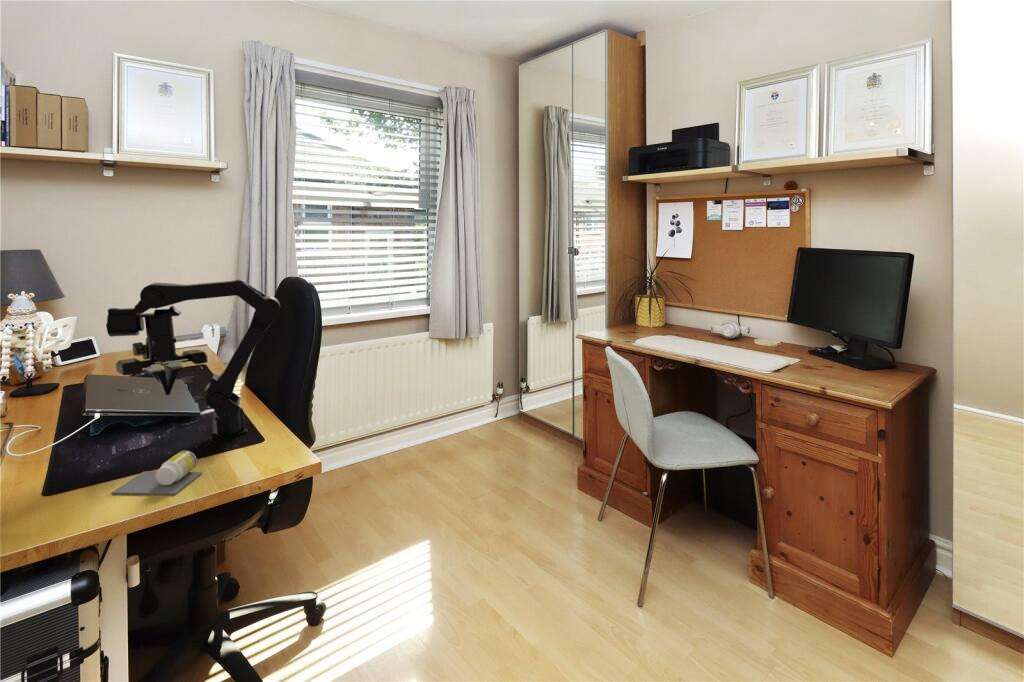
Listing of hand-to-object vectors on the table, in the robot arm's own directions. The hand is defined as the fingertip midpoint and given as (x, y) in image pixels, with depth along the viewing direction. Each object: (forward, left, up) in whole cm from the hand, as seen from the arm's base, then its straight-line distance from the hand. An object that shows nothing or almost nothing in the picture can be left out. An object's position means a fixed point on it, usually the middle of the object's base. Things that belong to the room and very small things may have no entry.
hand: (167, 394), depth 139 cm
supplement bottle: (+5, +23, -9) cm, 26 cm away
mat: (+11, +25, -12) cm, 30 cm away
